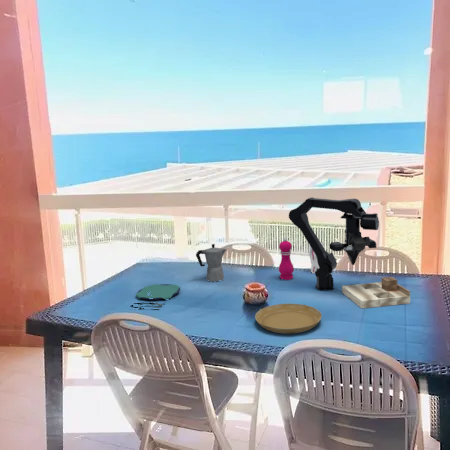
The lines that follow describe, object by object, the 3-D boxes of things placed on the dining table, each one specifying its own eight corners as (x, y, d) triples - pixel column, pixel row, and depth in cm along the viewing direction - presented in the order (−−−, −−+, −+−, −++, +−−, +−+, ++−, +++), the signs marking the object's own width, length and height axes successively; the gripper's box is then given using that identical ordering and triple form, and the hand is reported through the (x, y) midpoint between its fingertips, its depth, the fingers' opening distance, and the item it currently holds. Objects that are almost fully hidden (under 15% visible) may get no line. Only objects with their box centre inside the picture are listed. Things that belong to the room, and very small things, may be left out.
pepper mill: (284, 281, 218) (283, 240, 214) (276, 277, 224) (274, 237, 220) (297, 278, 221) (295, 238, 217) (288, 275, 227) (287, 235, 224)
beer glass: (325, 270, 231) (324, 241, 228) (322, 274, 225) (321, 244, 222) (311, 269, 234) (311, 241, 231) (308, 273, 228) (307, 244, 225)
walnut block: (386, 291, 186) (386, 280, 185) (381, 288, 191) (381, 277, 190) (397, 290, 187) (397, 279, 186) (391, 287, 191) (391, 276, 190)
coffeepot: (226, 275, 233) (224, 240, 230) (230, 280, 224) (228, 244, 221) (196, 278, 230) (193, 244, 227) (199, 284, 221) (196, 247, 218)
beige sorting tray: (361, 308, 177) (361, 296, 177) (342, 292, 197) (341, 281, 196) (410, 303, 180) (410, 291, 179) (385, 288, 199) (385, 277, 199)
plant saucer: (276, 342, 152) (275, 333, 152) (244, 319, 174) (244, 311, 174) (335, 327, 162) (335, 318, 161) (298, 307, 183) (298, 299, 183)
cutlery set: (186, 288, 216) (185, 283, 216) (163, 312, 188) (162, 307, 187) (147, 287, 221) (146, 283, 221) (119, 311, 193) (118, 306, 192)
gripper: (338, 234, 184) (339, 271, 187) (382, 230, 186) (382, 267, 189) (328, 229, 195) (329, 264, 197) (370, 226, 197) (370, 261, 200)
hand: (352, 264), depth 195 cm, fingers closed
